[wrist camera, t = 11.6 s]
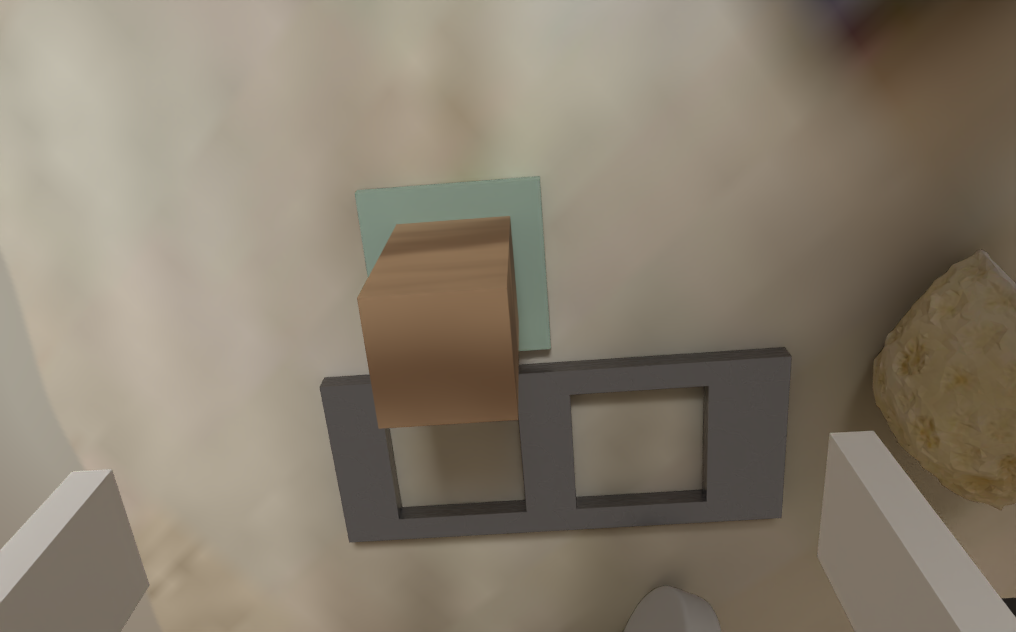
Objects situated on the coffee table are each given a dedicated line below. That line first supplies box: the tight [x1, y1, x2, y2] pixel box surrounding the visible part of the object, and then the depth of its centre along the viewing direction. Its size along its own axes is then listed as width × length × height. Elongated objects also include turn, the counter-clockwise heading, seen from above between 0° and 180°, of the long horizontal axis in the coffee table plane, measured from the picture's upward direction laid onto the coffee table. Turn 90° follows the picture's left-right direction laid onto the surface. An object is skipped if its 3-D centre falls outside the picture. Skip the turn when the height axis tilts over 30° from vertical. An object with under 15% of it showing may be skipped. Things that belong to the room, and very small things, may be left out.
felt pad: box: [355, 176, 551, 351], centre depth 36 cm, size 8×8×1 cm
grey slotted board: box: [320, 347, 791, 542], centre depth 39 cm, size 9×22×1 cm, turn 95°
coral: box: [873, 249, 1016, 510], centre depth 33 cm, size 10×10×10 cm
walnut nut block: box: [357, 216, 519, 429], centre depth 31 cm, size 5×5×9 cm
